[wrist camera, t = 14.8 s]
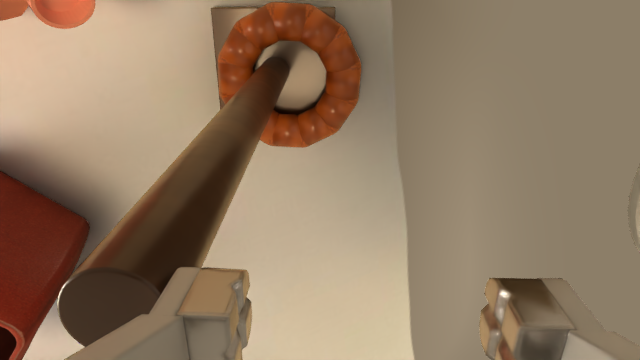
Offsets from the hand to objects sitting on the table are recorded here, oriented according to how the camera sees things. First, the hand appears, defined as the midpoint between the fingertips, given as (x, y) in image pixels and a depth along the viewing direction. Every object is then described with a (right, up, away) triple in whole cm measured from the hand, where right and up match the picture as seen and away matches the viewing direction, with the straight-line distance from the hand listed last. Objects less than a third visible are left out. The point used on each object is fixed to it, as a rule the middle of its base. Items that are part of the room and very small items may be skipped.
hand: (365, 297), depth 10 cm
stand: (-5, +12, +28) cm, 31 cm away
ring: (-4, +11, +26) cm, 28 cm away
